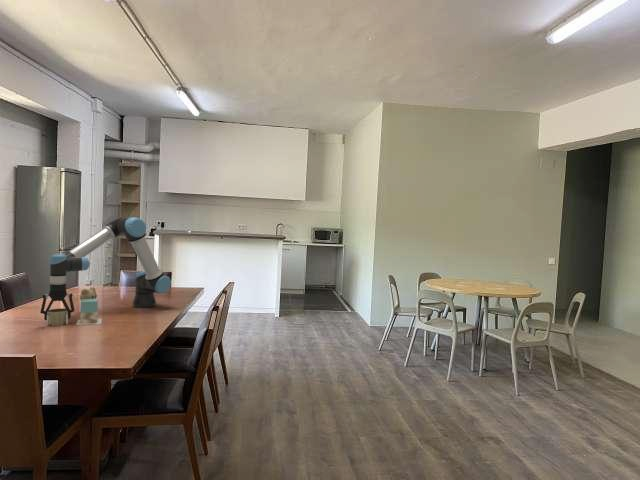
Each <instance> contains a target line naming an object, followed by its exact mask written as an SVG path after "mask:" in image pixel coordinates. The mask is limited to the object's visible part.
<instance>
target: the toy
mask: <svg viewBox="0 0 640 480" xmlns="http://www.w3.org/2000/svg"><path fill="white" fill-rule="evenodd" d="M80 292H81V293H80V295H79V299H80V301H81V300H82V299H98V297H97V296H98V295H97V292H96V288H95V287H94V286H92V287H90V288H89V289H87V288H83V289H82V290H81V291H80Z"/></svg>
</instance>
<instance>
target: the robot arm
mask: <svg viewBox="0 0 640 480" xmlns="http://www.w3.org/2000/svg"><path fill="white" fill-rule="evenodd" d="M146 232H147V225H146V222H145V221H144V220H142V219H141V218H139V217H135V216H133V217H132V216H131V217H130V216H129V217H128V216H127V217H126V216H121V217H120V216H119V217H116V218H115V219H112V220H111V221H110V222H108V223H107V224H105V225H103V226H102V229H101V230H99V231H98V232H95V233H94V234H93V235H91V236H90V237H89V238H87V239H85V240H84V241H82V242H81V243H79V244H78V245H76V246H75V247H73V248H72V249H70V250H69V251H67V252H65V253H64V254H61V253H60V254H57V253H55V254H52V255H50V260H49V293H46V294H45V293H43V295H42V304H41V307H40V314H43V315H44V317H43V318H44V321H46V326H49V325H50V317H49V314H48V312H47V311H49V310H51V307H52V305H53V303H54V302H62V304H63V306H64V309H66V310H67V313H66V317H65V324H66V325H68V324H69V320H71V318H72V317H71V315H72V313H74V312H75V305H74V301H73V300H74V299H73V295H74V294H73V293H72V292H71V293H68V292H67V273H68V272H69V273H70V272H83V271H87V270H89V268H90V259H89V258H88V257H86V256H88V255H89V254H91V253H93V252H94V251H96V249H98V248H100V247H101V246H102V245H104V244H106V243H107V242H108V241H110V240H115V239H116V238H117V237H118V238H119V237H121V236H124V237H125V239H126V241H127V243H130V244H131V246H132V247H133V250H134V251H135V254H136V256H137V258H138V260H139V262H140V265H141V267H142V268H143V271H140V272H136V274H135V278H134V279H135V291H134V292H135V295H134V297H133V300H132V302H131V303H132V304H131V306H132V307H133V308H139V309H143V308H144V309H145V308H146V309H147V308H153V307H156V306H157V300H156V297H155V296H156V295H155V293H156V294H165V293H166V292H168V291H169V290H170V289H171V286H172V285H171V284H172V279H171V278H170V276H167V275H165V273H164V271H163V269H161V268H160V267H159V265H158V263H157V261H156V259H155V257H154V254H153V253H152V250H151V248H150V246H149V244H148V241H147V240H146V236H147V234H146ZM66 297H67V298H68V299H69V300H68V301H69V305H70V306H69V305H68V303H67V301H66V299H65V298H66ZM48 298H50V299H51V300H50V302H49V304H48V305H47V307H46V302H47V299H48ZM45 307H46V309H45Z"/></svg>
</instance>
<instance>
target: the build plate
mask: <svg viewBox="0 0 640 480" xmlns="http://www.w3.org/2000/svg"><path fill="white" fill-rule="evenodd" d="M98 324H99V325H100V324H102V318H98V320H97V323H87V324H81V319H77V322H76V326H82V325H98Z"/></svg>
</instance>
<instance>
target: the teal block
mask: <svg viewBox="0 0 640 480" xmlns="http://www.w3.org/2000/svg"><path fill="white" fill-rule="evenodd" d="M98 304H99V299H98V298H96V299H82V300H80V314H81V313H90V312H97V310H98V311H99V309H98V308H99V305H98Z"/></svg>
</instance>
